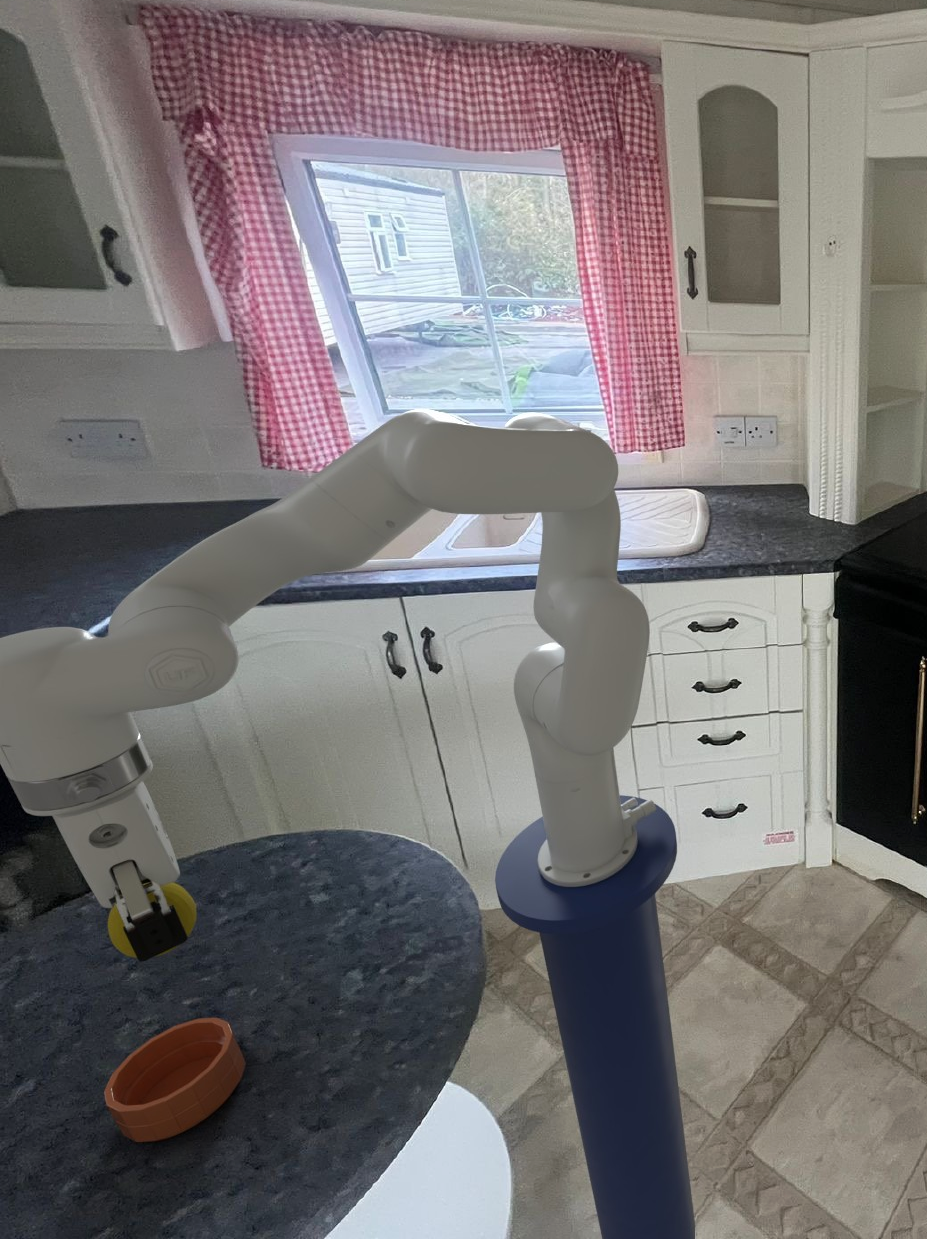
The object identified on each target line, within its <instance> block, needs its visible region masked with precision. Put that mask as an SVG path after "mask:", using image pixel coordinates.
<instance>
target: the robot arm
mask: <svg viewBox="0 0 927 1239" xmlns="http://www.w3.org/2000/svg"><path fill="white" fill-rule="evenodd" d="M618 478H619V464H618V460H617V456H616V454H615V452H614V450H613V448H612V447H611V446H610V444H608V443H607V442H606V441H605V440H604V438H602V437H601V436H599V435H597V434H596V433H594V432H592V431H590V430H588V429H585V428H583V427H579V426H577V425H575V424H572V423H570V422H568V421H566V420H563V419H561V418H559V417H556V416H553V415H549V414H545V413H539V412H527V413H522V414H519V415H517V416H514V417H512V418H511V419H510V420H509V421H508V422H507V423H506V424H504V426H503V427H493V426H490V427H489V426H483V425H482V426H481V425H474V424H469V423H465V422H464V421H461V420H460V419H457V418H456V417H453V416H451V415H449V414H445V413H444V412H439V411H436V410H433V409H423V408H421V409H420V408H417V409H413V410H412V409H411V410H407V411H405V412H402V413H400V414H398V415H395V416H394V417H392V418H391V419H389V420H387V421H386V422H384V423H383V424H382V425H380V426H379V427H377V428H376V429H375V430H373V431H372V432H371V433H369V434H368V435H366V436H365V437H364V438H363V439H361V440H360V441H359V442H357V443H356V444H354V445H353V446H351V448H349V449H348V450H346V451H345V452H343V453H342V454H341V455H340V456H338V457H337V458H335V459H334V460H333V461H331V462H330V463H329V464H327V465H326V466H325V467H323V468H322V469H320V470H319V471H317V472H316V473H315V474H314V475H312V476H311V477H310V478H308V479H306V481H304V482H303V483H302V484H300V485H299V486H298V487H296V488H295V489H293V490H292V491H290V492H289V493H288V494H286V495H285V496H283V497H281V498H280V499H279V500H277V501H276V502H274V503H272V504H271V505H268V506H267V507H264V508H261V509H260V510H258V511H257V510H256V511H255V512H253V513H251V514H250V515H248V516H246V517H245V518H243V519H241V520H239V521H237V522H234V523H232V524H230V525H228V526H226V527H225V528H222V529H221V530H219V531H217V532H215V533H213V534H211V535H210V536H208V537H206V538H205V539H203V540H201V541H200V542H198V543H197V544H195V545H193V546H192V547H191V548H189V549H187V550H186V551H185V552H183V553H182V554H180V555H179V556H178V557H176V558H175V559H173V560H172V561H171V562H169V563H168V564H167V565H165V566H164V567H163V568H161V569H160V570H159V571H157V572H156V573H155V574H153V575H152V576H150V577H149V578H148V579H146V580H145V581H144V582H142V583H141V584H140V585H139V586H137V587H136V588H135V589H133V590H132V591H131V592H130V593H128V595H126V596H125V598H123V599H122V600H121V601H120V603H119V604H118V605H117V607H116V608H115V609H114V611H113V612H112V614H111V616H110V618H109V622H108V628H107V630H108V631H107V635H106V636H104V637H103V636H102V637H99V636H96V635H95V634H93V633H92V632H90V631H87V630H85V629H83V628H78V627H73V626H53V627H52V626H51V627H44V628H35V629H31V630H26V631H21V632H17V633H13V634H10V635H6V636H3V637H0V766H1V768H2V770H3V772H4V773H5V776H6V778H7V779H8V782H9V783H10V785H11V788H12V789H13V791H14V794H15V795H16V797H17V799H18V801H19V803H20V804H21V807H22V809H23V810H24V812H25V813H27V814H29V815H31V816H37V817H52V818H53V820H54V822H55V824H56V826H57V828H58V831H59V832H60V834H61V837H62V838H63V840H64V843H65V844H66V846H67V848H68V850H69V852H70V854H71V857H72V859H73V860H74V861H75V863H76V865H77V867H78V869H79V871H80V872H81V874H82V876H83V878H84V879H85V881H86V883H87V885H88V887H89V889H90V890H91V891H92V893H93V895H94V896H95V898H96V900H97V901H98V903H99V905H100V906H101V907H102V908H104V909H105V908H106V909H112V908H114V905H116V907H117V909H118V911H119V913H120V916H121V918H122V920H123V923H124V925H125V926H124V927H123V930H124V932H125V934H126V936H127V938H128V940H129V942H130V944H131V946H132V948H133V950H134V952H135V954H136V956H137V958H136V959H137V961H138V962H147V961H149V960H150V959H153V958H156V957H158V956H157V955H159V954H161V953H163V952H165V951H167V950H169V949H172V948H174V947H176V946H177V947H178V946H180V945H182V944H184V943H186V942H187V940H188V937H189V936H188V937H187V934H186V932H185V929H184V927H183V925H182V923H181V921H180V918H179V916H178V914H177V912H176V909H175V907H174V905H172V906H169V905H168V902H167V900H166V898H165V895H164V893H163V891H162V888H161V886H164V885H166V884H169V883H171V882H172V883H175V882H177V881H178V879H179V878H180V876H181V871H180V867H179V864H178V860H177V858H176V855H175V852H174V848H173V846H172V843H171V841H170V840H171V839H170V837H169V835H168V833H167V830H166V829H165V826H164V825H163V824H164V823H163V822H162V819H161V817H160V814H159V813H158V809H157V808H156V806H155V803H154V802H153V799H152V797H151V795H150V793H149V790H148V788H147V786H146V785H145V782H144V781H145V780H146V779H147V778H148V777H149V776H150V774H151V773H152V771H153V768H154V764H153V762H152V758H151V757H150V754H149V752H148V751H147V748H146V745H145V742H144V740H143V738H142V736H141V734H140V731H139V729H138V726H137V724H136V721H135V719H134V717H133V714H132V712H133V713H134V712H140V711H147V710H153V709H154V710H155V709H161V708H169V707H175V706H178V705H184V704H189V703H192V702H195V701H199V700H202V699H204V698H207V697H209V696H211V695H213V694H215V693H216V692H218V691H219V690H221V689H223V688H224V687H225V686H227V685H228V683H229V682H230V681H231V680H232V678H233V677H234V676H235V674H236V672H237V671H238V670H237V669H238V667H239V662H240V661H239V658H240V657H239V650H238V647H237V644H236V641H235V638H234V637H233V634H232V631H231V629H230V627H231V626H232V625H233V624H234V623H235V622H236V621H238V620H239V619H241V617H243V616H244V615H245V614H247V613H248V612H249V611H251V610H252V609H253V608H254V607H255V606H257V605H259V603H261V602H262V601H264V600H265V599H267V598H268V597H269V596H271V595H273V594H274V593H276V592H277V591H278V590H279V591H280V590H281V589H282V588H285V586H288V585H290V584H291V583H294V582H296V581H299V580H300V579H301V580H302V579H304V578H307V577H311V576H314V575H319V574H326V573H327V574H328V573H336V572H343V571H348V570H352V569H356V568H358V567H361V566H363V565H364V564H366V563H367V562H369V561H370V560H371V559H373V557H375V556H376V555H377V554H378V553H379V552H380V551H382V550H383V549H384V548H386V547H387V546H388V545H389V544H391V542H392V541H393V542H394V540H395V539H396V538H398V537H399V536H400V535H402V534H403V533H404V532H405V531H407V530H408V529H409V528H410V527H411V526H412V525H414V524H415V523H416V522H417V521H418V520H420V519H421V518H422V517H424V516H425V515H427V513H429V512H430V511H431V510H434V511H438V512H441V513H447V514H455V515H513V514H515V515H516V514H517V515H518V514H537V513H538V514H540V513H541V521H542V528H541V530H542V533H541V545H540V546H541V548H540V555H539V562H538V569H537V577H536V585H535V591H534V596H533V597H534V598H533V616H534V619H535V621H536V623H537V625H538V626H539V628H540V629H541V630H542V631H543V632H544V633H546V635H548V636H549V637H550V638H551V639H552V640H553V642H548V643H545V644H541V645H539V646H537V647H535V648H534V649H532V650H531V651H529V652H528V653H527V655H525V656H524V658H522V660H521V661H520V663H519V664H518V667H517V669H516V672H515V674H514V680H513V695H514V700H515V705H516V707H517V710H518V714H519V717H520V719H521V723H522V725H523V729H524V731H525V735H526V739H527V743H528V748H529V751H530V756H531V761H532V767H533V771H534V777H535V783H536V788H537V794H538V799H539V804H540V810H541V815H542V817H543V820H544V826H545V831H546V836H547V839H546V841H545V842H544V843H543V845H542V846H541V848H540V851H539V853H538V860H537V861H538V867H539V870H540V873H541V875H542V876H543V877H544V879H546V880H547V881H549V882H550V883H553V884H555V885H558V886H564V887H579V886H586V885H590V884H593V883H597V882H599V881H602V880H604V879H606V878H608V877H610V876H612V875H613V874H615V873H616V872H618V871H619V870H620V869H622V868H623V867H624V866H625V865H626V864H627V863H628V862H629V861H630V859H631V858H632V857H633V855H634V853H635V851H636V848H637V844H638V839H637V832H636V829H635V827H634V826H635V825H637V821H638V820H640V819H642V818H645V817H647V816H648V815H650V814H652V813H653V812H655V811H656V806H655V804H656V803H655V802H654V801H653V800H652V799H651V798H650V799H647V800H648V801H646V802H644V803H642V804H641V805H639V806H638V802H637V800H636V799H635V798H634V797H635V796H633V798H632V799H630V800H628V801H626V802H625V803H624V804H622V805H621V802H620V787H619V779H618V773H617V772H618V771H617V766H616V758H615V750H614V749H615V747H616V746H617V745H618V744H619V743H620V742H622V741H623V739H625V737H626V735H627V734H628V733H629V731H630V730H631V728H632V726H633V724H634V722H635V720H636V717H637V712H638V709H639V704H640V699H641V695H642V688H643V681H644V675H645V669H646V663H647V658H648V652H649V646H650V645H649V644H650V633H651V632H650V631H651V628H650V627H651V626H650V620H649V615H648V612H647V609H646V607H645V605H644V603H643V602H642V601H641V599H640V598H639V597H638V596H637V595H636V594H635V592H633V591H632V590H630V589H629V588H628V587H626V586H624V585H623V584H622V583H620V582H619V580H618V564H619V555H620V541H621V530H622V529H621V526H622V524H621V522H622V520H621V509H620V504H619V500H618V496H617V493H616V490H615V486H616V484H617V481H618ZM636 806H638V807H637V808H635V807H636ZM633 808H635V809H633ZM631 809H633V810H631ZM149 882H150V883H149ZM145 883H148V884H145ZM143 884H145V885H143ZM160 885H161V886H160ZM151 892H153V894H154V896H155V898H156V901H157V902H155V901H153V902H150V901H149V899H148V896H147V894H148V893H151ZM177 947H176V948H177ZM174 949H175V948H174ZM172 950H173V949H172ZM155 956H156V957H155ZM159 956H160V955H159Z"/></svg>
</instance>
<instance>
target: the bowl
mask: <svg viewBox="0 0 927 1239" xmlns="http://www.w3.org/2000/svg"><path fill="white" fill-rule="evenodd" d="M246 1064H247V1062H246V1059H245V1057H244V1054H243V1052H242V1049H241V1046H240V1045H239V1043H238V1040H237V1038H236V1036H235V1034H234V1032H233V1029H232V1027H231V1025H230V1023H229V1022H227V1021H226V1020H223V1019H221V1018H219V1017H203V1018H196V1019H195V1018H194V1019H192V1020H189V1021H186V1022H182V1023H180V1024H177V1025H174V1026H172V1027H170V1028H167V1030H164V1031H162V1032H161V1033H159V1034H157V1035H155V1036H153V1037H151V1038H150V1039H149V1040H147V1041H146V1042H145V1043H143V1044H142V1045H140V1046H139V1047H138V1048H136V1049H135V1050H134V1051H133V1052H132V1053H130V1054H129V1055H128V1056H127V1057H126V1058H125V1059H124V1060H123V1061H122V1063H120V1065H119V1066H118V1067H117V1068H116V1069H115V1070H114V1071H113V1072H112V1074H111V1076H110V1078H109V1080H108V1082H107V1085H106V1087H105V1089H104V1092H103V1096H104V1100H105V1105H106V1107H107V1109H108V1110H109V1113H110V1114H111V1116H112V1118H113V1119H114V1121H115V1123H116V1124H117V1126H118V1128H119V1130H120V1132H121V1133H122V1135H123V1136H124V1137H126V1138H128V1139H129V1140H131V1141H133V1142H136V1143H145V1142H146V1143H147V1142H157V1141H162V1140H165V1139H166V1140H167V1139H169V1138H171V1137H175V1136H178V1135H180V1134H182V1133H184V1132H186V1131H188V1130H190V1129H191V1128H193V1127H195V1126H197V1125H198V1124H200V1123H202V1121H204V1120H206V1119H207V1118H208V1117H209V1116H211V1115H212V1114H213V1113H215V1112H216V1111H217V1110H218V1109H219V1108H220V1107H221V1106H222V1105H223V1104H224V1103H225V1102H226V1101H227V1100H228V1099H229V1097H230V1096H231V1095H232V1094H233V1092H234V1090H236V1087H237V1085H238V1084H239V1083H240V1082H241V1080H242V1078H243V1075H244V1071H245V1067H246Z"/></svg>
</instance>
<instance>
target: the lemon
mask: <svg viewBox="0 0 927 1239" xmlns="http://www.w3.org/2000/svg"><path fill="white" fill-rule="evenodd" d="M149 883H150V882H149ZM145 884H148V883H145ZM145 884H143V885H145ZM160 886H161V885H160ZM161 888H162V891H163V893H164V895H165V898H166V900H167V902H168V905H169V906H172V905H174V907H175V909H176V912H177V914H178V916H179V918H180V921H181V923H182V925H183V927H184V929H185V932H186V934H187V937H189V936H190V935H191V933H192V932H193V931H194V927H195V924H196V923H197V916H198V914H197V906H196V902H195V900H194V898H193V897H192V895H191V894H190V893H189V892H188V890H186V888H184V887H183V886H182V885H180V884H178V883H175V882H173V883H172V882H171V883H169V884H166V885H164V886H161ZM147 896H148V899H149V901H150V902H153V901H155V902H157V901H156V898H155V896H154V894H153V892H151V893H148V894H147ZM124 926H125V925H124V923H123V920H122V918H121V916H120V913H119V911H118V909H117V907H116V905H115V904H114V908H110V912H109V915H108V918H107V930H108V934H109V935H108V936H109V938H110V941H111V943H112V945H113V946H114V947H115V948H116V949H117V950H118V951H119V952H120V953H121V954H123V955H125V956H127V957H130V958H135V959H138V958H137V956H136V954H135V952H134V950H133V948H132V946H131V944H130V942H129V940H128V938H127V936H126V934H125V932H124V930H123V927H124ZM177 947H178V946H176V947H174V948H172V949H169V950H167V951H165V952H163V953H161V954H159V955H157V956H155V957H154V958H156V957H159V956H162V955H164V954H168V953H170V952H172V951H173V950H174V949H176V948H177Z"/></svg>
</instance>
